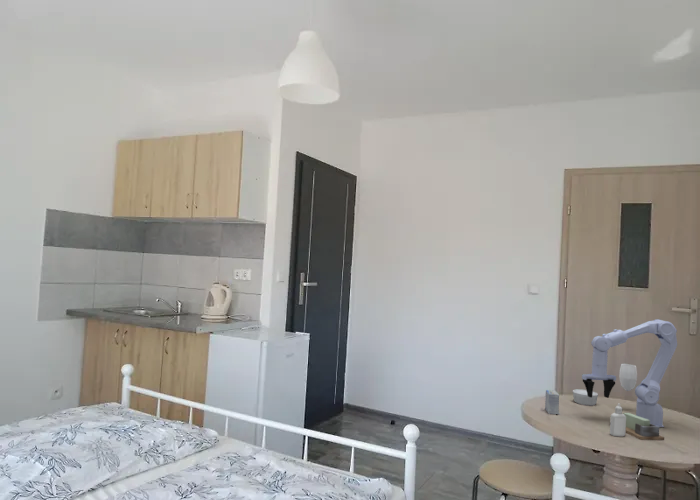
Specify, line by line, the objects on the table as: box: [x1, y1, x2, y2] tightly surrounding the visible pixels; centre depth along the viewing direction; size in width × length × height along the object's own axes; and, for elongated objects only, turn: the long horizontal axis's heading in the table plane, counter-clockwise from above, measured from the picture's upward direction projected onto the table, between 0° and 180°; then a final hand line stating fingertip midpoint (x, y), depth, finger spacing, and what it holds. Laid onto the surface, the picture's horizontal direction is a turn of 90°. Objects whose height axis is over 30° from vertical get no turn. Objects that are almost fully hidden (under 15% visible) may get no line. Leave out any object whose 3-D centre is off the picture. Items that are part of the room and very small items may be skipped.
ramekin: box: [572, 388, 599, 407], centre depth 249 cm, size 11×11×5 cm
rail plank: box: [622, 412, 650, 430], centre depth 207 cm, size 3×10×5 cm, turn 18°
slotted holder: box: [625, 423, 665, 441], centre depth 206 cm, size 10×18×4 cm, turn 8°
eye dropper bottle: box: [609, 403, 626, 437], centre depth 201 cm, size 4×6×12 cm
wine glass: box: [618, 363, 638, 392], centre depth 239 cm, size 7×7×21 cm
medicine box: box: [544, 389, 560, 415], centre depth 229 cm, size 8×4×9 cm, turn 168°
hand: (598, 397), depth 222 cm, fingers open, 7 cm apart
